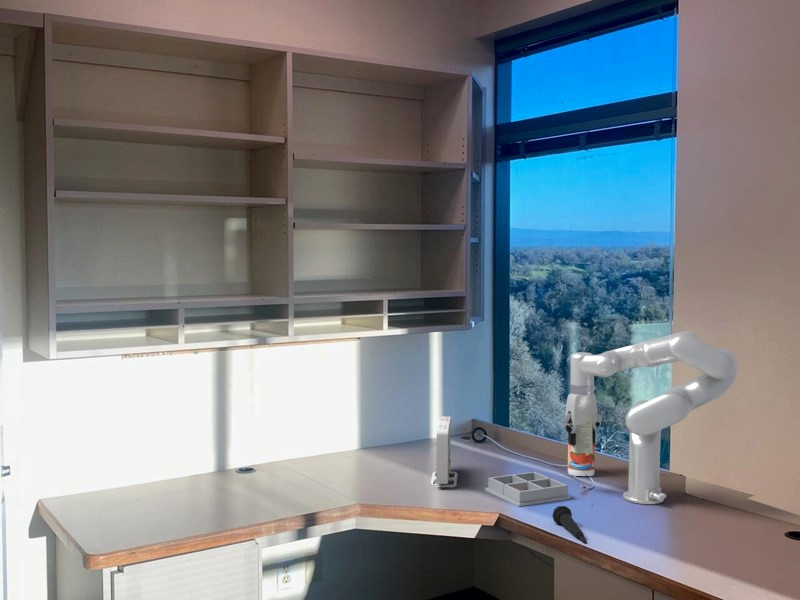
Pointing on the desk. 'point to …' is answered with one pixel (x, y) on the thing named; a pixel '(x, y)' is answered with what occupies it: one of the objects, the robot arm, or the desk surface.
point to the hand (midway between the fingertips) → (581, 443)
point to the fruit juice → (581, 462)
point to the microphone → (567, 522)
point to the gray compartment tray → (527, 489)
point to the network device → (443, 454)
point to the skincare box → (584, 437)
